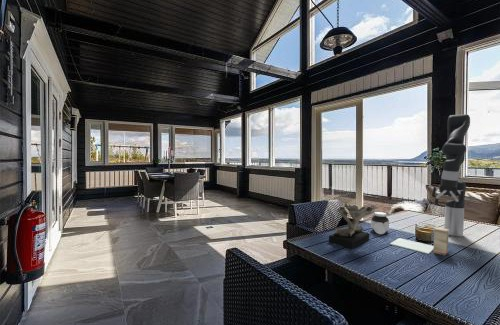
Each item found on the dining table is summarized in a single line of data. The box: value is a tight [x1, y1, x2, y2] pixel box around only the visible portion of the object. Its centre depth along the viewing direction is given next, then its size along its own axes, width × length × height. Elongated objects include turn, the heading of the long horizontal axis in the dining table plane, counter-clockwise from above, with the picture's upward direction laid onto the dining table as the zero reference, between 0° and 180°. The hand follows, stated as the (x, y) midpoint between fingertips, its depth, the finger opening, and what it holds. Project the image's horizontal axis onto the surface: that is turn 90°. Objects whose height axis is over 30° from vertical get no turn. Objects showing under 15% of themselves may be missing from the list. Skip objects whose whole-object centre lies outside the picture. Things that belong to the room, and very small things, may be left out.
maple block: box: [432, 226, 450, 256], centre depth 131 cm, size 5×5×12 cm
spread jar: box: [370, 211, 390, 235], centre depth 165 cm, size 12×11×12 cm
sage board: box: [389, 237, 434, 255], centre depth 141 cm, size 14×18×1 cm
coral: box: [328, 203, 378, 250], centre depth 146 cm, size 25×20×22 cm
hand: (445, 206), depth 151 cm, fingers open, 8 cm apart
